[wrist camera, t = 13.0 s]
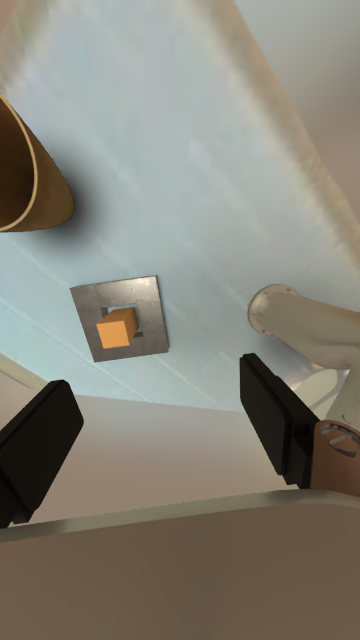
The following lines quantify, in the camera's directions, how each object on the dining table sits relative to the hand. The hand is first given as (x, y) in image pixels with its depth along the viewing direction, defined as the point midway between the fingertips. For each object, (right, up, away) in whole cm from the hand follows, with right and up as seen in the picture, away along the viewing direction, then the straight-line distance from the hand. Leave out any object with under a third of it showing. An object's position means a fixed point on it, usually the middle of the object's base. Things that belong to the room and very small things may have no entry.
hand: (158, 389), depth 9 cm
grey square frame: (-12, +4, +32) cm, 34 cm away
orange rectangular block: (-12, +4, +32) cm, 34 cm away
